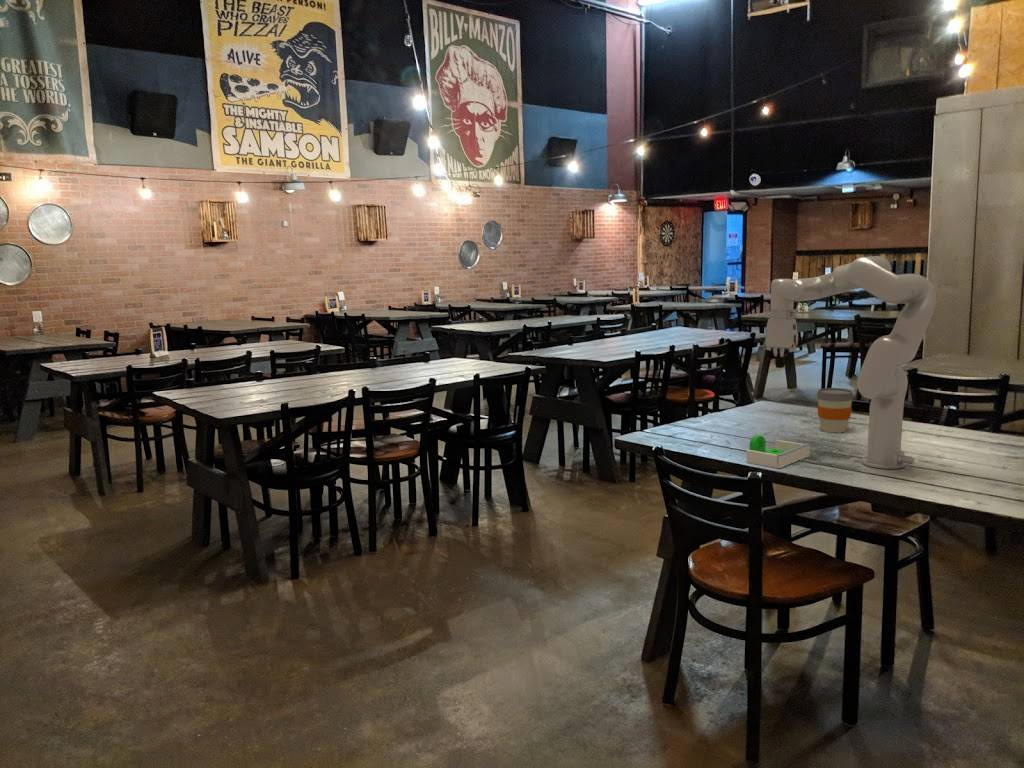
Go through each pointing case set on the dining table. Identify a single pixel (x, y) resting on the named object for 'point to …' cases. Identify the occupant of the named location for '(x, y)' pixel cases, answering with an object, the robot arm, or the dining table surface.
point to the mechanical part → (762, 445)
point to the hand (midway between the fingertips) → (780, 367)
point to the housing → (789, 455)
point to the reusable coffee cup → (834, 408)
